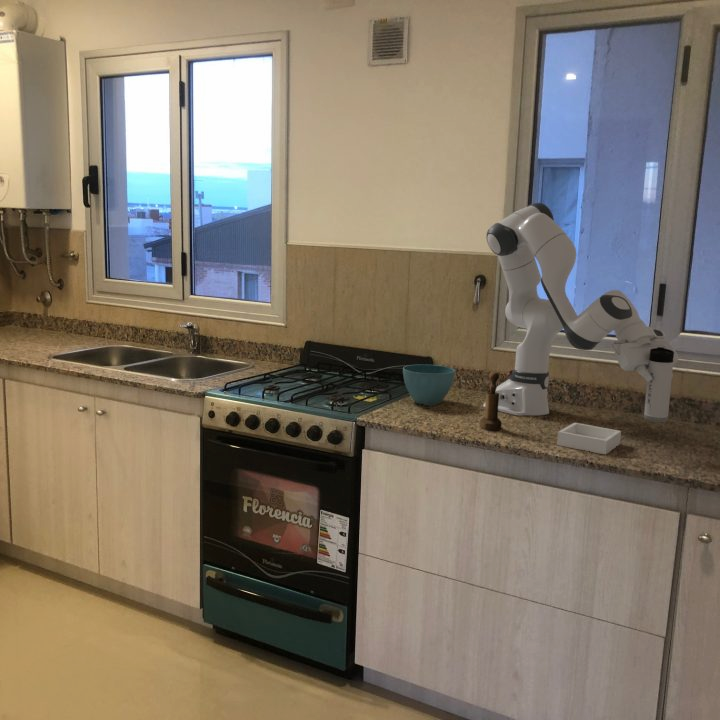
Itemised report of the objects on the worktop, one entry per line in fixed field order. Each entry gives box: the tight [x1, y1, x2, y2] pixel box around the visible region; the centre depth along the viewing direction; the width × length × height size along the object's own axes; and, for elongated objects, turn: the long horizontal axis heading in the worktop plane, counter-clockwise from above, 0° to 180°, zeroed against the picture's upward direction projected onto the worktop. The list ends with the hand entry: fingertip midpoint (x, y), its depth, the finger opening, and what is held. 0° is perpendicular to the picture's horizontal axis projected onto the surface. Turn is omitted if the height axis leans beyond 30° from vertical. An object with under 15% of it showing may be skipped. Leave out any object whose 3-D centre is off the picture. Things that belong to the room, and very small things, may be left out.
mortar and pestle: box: [479, 370, 502, 431], centre depth 229 cm, size 7×6×18 cm
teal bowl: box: [402, 364, 456, 406], centre depth 261 cm, size 18×18×12 cm
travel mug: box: [643, 347, 674, 423], centre depth 207 cm, size 6×7×20 cm
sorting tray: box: [556, 422, 622, 456], centre depth 216 cm, size 14×14×4 cm
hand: (660, 379), depth 206 cm, fingers closed on travel mug, 6 cm apart
